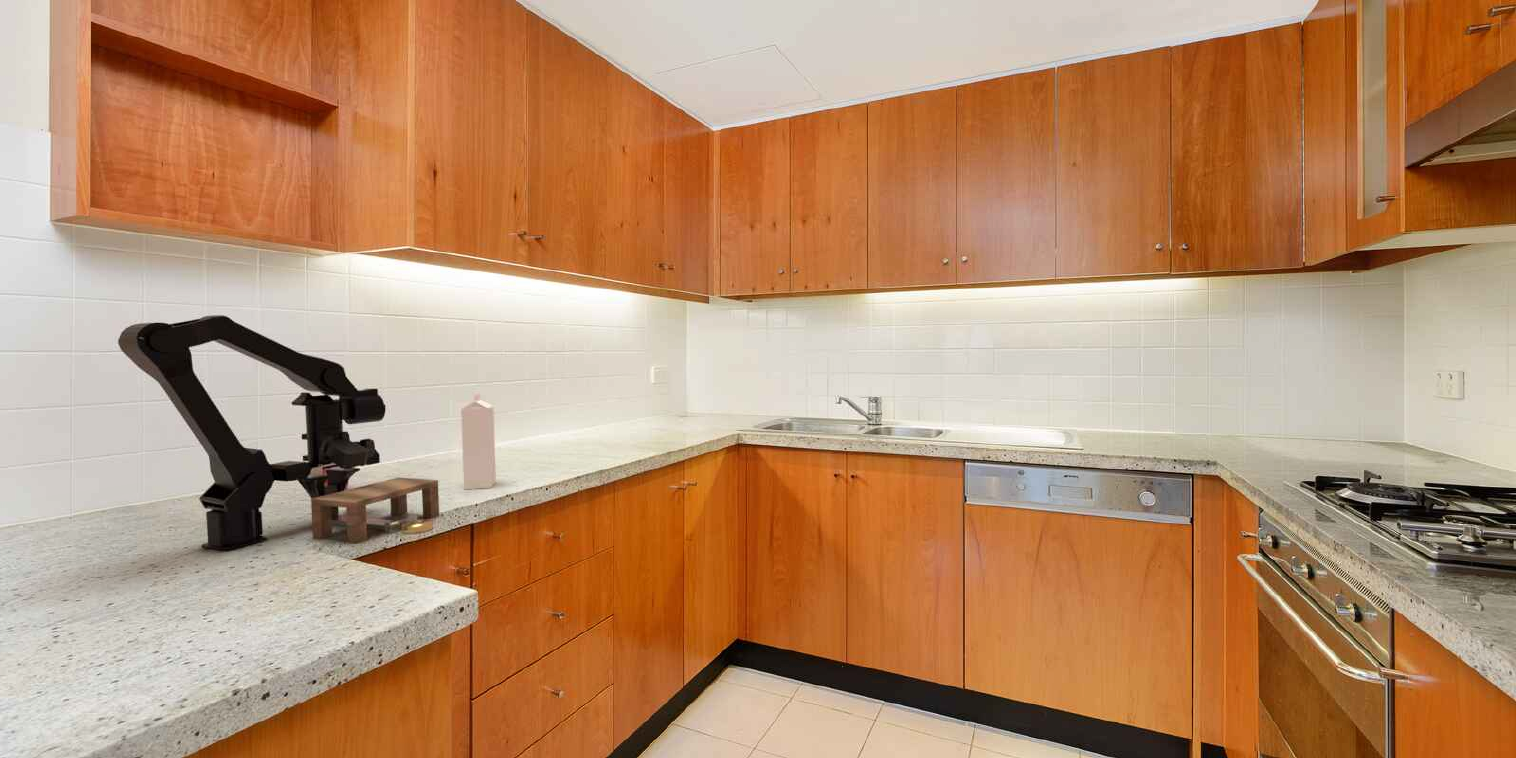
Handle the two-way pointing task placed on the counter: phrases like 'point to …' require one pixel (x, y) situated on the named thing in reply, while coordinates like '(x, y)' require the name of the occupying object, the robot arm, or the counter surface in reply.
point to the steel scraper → (386, 525)
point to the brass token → (417, 526)
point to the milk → (478, 445)
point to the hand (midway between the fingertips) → (328, 508)
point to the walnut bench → (367, 495)
